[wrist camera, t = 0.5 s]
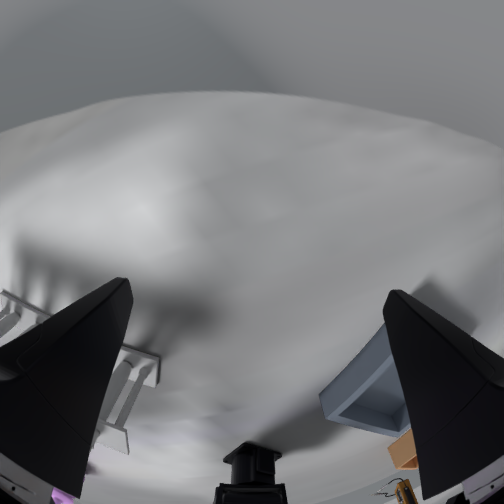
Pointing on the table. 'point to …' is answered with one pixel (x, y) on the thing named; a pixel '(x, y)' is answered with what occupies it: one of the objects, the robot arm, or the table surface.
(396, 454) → the small crate
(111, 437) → the test tube rack
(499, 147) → the table surface
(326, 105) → the table surface
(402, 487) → the multimeter
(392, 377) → the large crate
